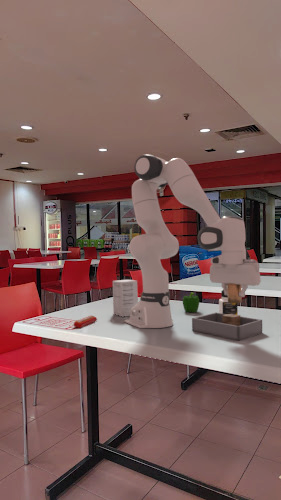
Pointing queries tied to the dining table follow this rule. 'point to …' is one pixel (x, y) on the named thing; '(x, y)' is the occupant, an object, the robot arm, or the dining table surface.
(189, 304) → the bell pepper
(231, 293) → the copper tin
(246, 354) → the dining table surface
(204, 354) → the dining table surface
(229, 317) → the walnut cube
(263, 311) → the dining table surface
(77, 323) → the candy bar
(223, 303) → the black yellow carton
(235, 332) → the box
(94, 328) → the dining table surface
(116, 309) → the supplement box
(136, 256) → the robot arm
